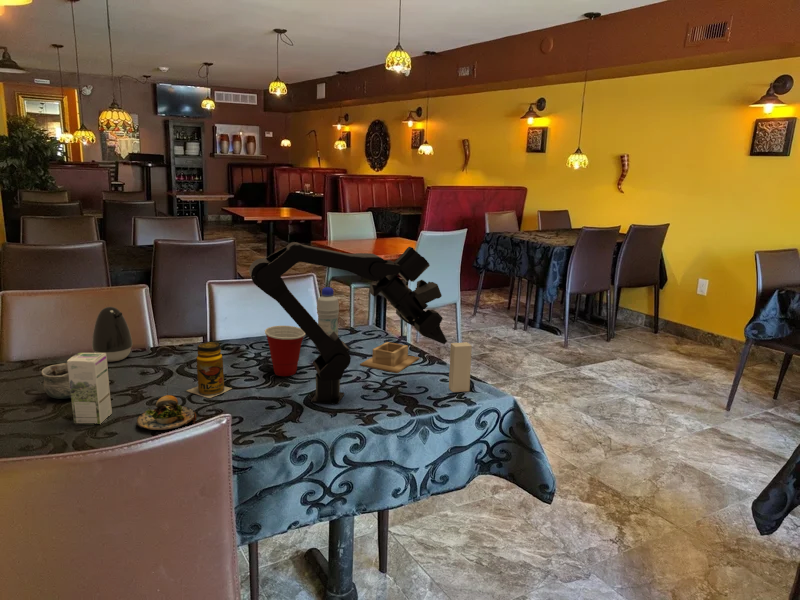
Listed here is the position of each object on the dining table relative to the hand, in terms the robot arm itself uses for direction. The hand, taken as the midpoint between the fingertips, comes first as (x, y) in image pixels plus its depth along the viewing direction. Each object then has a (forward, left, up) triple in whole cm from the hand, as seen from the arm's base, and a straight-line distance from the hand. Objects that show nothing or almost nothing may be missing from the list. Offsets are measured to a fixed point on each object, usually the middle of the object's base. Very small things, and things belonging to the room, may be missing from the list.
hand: (438, 337), depth 144 cm
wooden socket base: (+17, +15, -13) cm, 26 cm away
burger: (-33, +55, -14) cm, 66 cm away
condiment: (-14, +55, -14) cm, 58 cm away
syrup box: (-35, +71, -14) cm, 80 cm away
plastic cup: (+2, +41, -14) cm, 43 cm away
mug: (-24, +84, -14) cm, 88 cm away
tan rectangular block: (0, -6, -13) cm, 15 cm away
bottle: (+22, +35, -14) cm, 44 cm away
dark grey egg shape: (+2, +92, -14) cm, 93 cm away
